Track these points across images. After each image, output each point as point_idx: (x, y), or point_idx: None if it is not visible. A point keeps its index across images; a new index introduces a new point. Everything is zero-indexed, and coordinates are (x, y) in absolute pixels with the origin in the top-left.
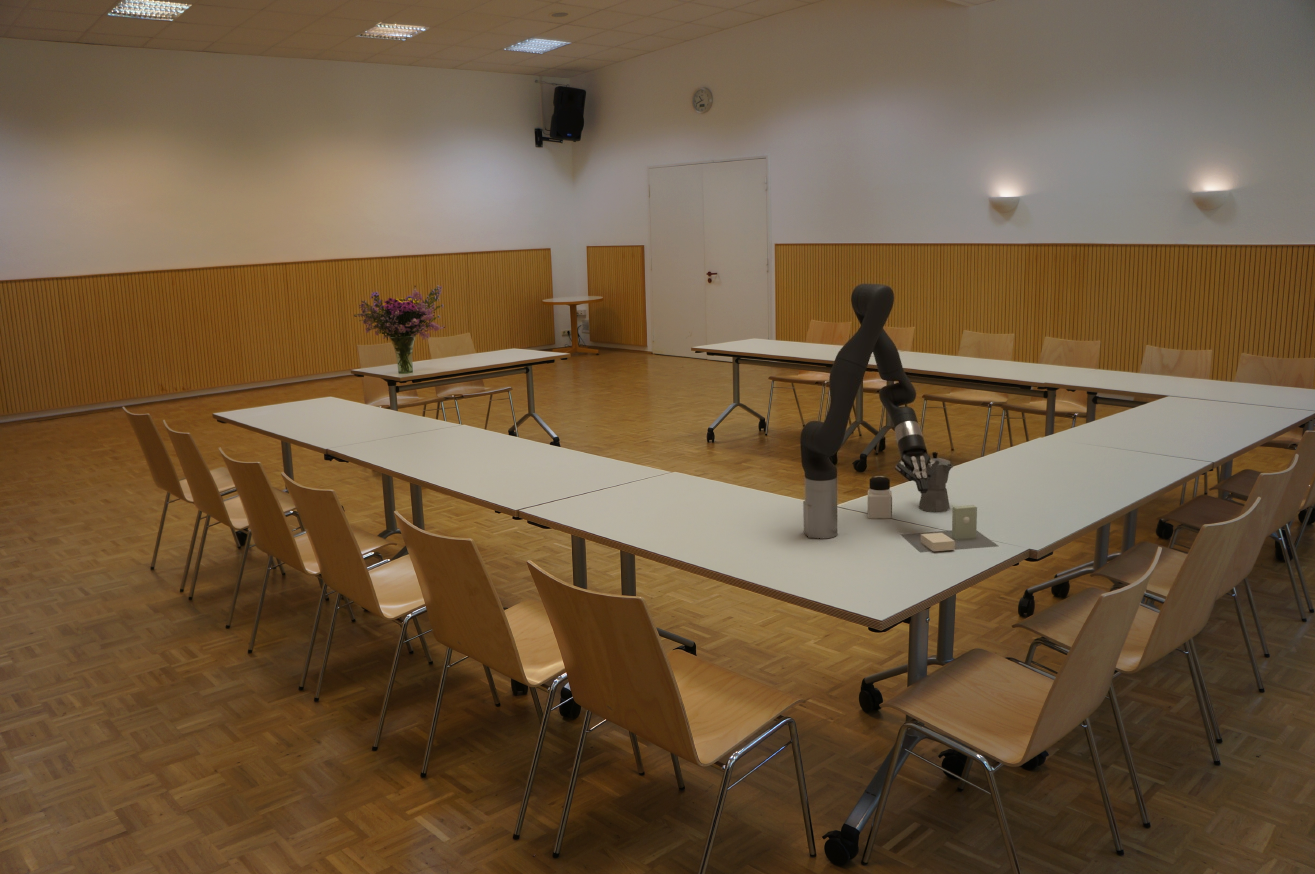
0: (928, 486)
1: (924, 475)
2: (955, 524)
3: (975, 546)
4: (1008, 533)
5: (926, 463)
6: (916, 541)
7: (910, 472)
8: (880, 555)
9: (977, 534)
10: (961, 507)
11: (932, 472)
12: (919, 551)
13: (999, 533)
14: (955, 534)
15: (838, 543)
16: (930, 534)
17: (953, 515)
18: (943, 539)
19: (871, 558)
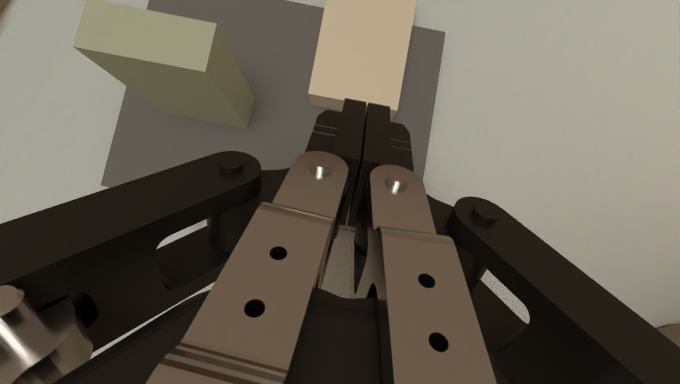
0: (320, 118)
1: (325, 165)
2: (239, 72)
3: (234, 5)
4: (9, 104)
5: (145, 341)
6: None
7: (511, 246)
8: (570, 82)
9: (138, 117)
10: (173, 29)
11: (186, 171)
12: (443, 40)
13: (40, 118)
14: (249, 89)
15: (657, 257)
16: (364, 90)
17: (223, 80)
18: (359, 3)
19: (609, 68)
